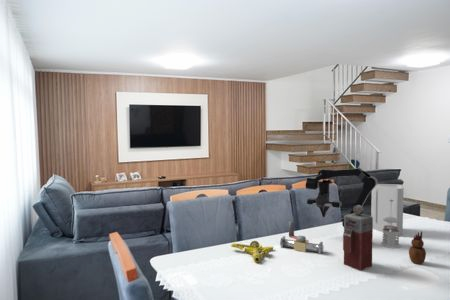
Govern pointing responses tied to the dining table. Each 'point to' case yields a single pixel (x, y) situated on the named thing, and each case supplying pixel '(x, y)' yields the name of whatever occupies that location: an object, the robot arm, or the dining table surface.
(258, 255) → the yellow toy airplane
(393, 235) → the french press
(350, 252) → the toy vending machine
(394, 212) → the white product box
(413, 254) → the wooden figurine
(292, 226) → the lever
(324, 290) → the dining table surface
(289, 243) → the valve body
